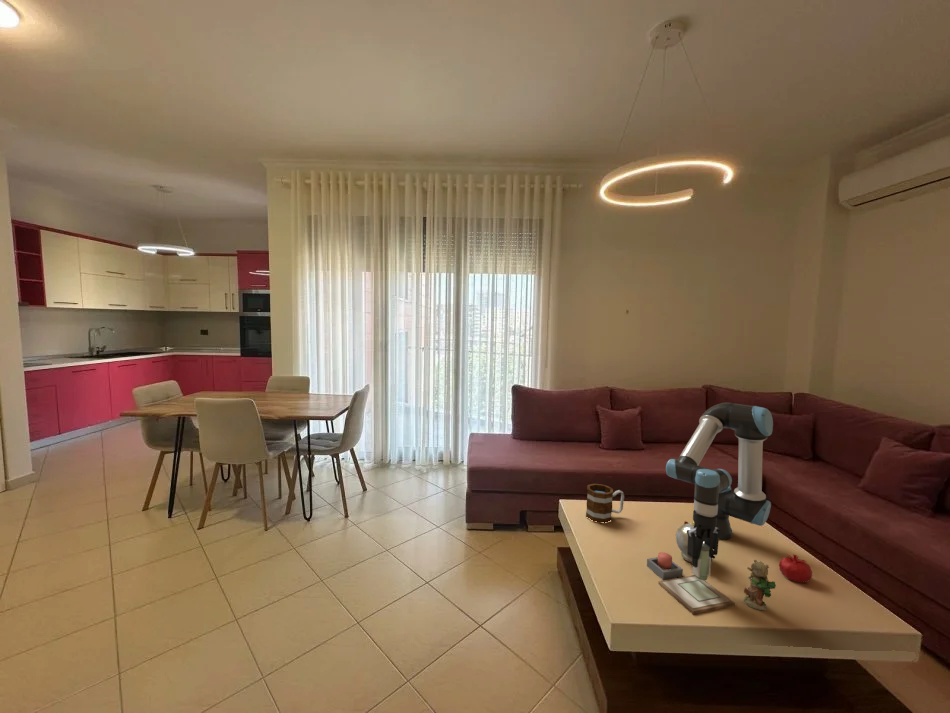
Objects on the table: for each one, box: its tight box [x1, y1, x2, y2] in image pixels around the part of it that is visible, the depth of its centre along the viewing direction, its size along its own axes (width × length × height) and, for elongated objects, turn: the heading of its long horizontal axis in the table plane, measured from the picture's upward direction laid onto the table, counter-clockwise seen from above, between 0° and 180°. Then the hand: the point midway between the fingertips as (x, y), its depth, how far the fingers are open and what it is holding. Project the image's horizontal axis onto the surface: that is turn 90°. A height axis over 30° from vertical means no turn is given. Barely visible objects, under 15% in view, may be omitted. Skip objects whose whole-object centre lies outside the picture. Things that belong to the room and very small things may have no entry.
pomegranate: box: [778, 553, 813, 583], centre depth 149 cm, size 10×10×9 cm
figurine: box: [743, 559, 776, 611], centre depth 132 cm, size 9×8×15 cm
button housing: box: [646, 556, 684, 581], centre depth 151 cm, size 9×9×3 cm
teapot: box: [675, 520, 704, 564], centre depth 158 cm, size 18×14×16 cm
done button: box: [657, 551, 673, 570], centre depth 151 cm, size 5×5×4 cm
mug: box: [585, 483, 625, 523], centre depth 195 cm, size 20×14×15 cm
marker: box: [694, 543, 710, 581], centre depth 141 cm, size 4×4×12 cm
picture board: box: [657, 574, 736, 615], centre depth 138 cm, size 18×16×1 cm
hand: (701, 573), depth 141 cm, fingers closed on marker, 4 cm apart
